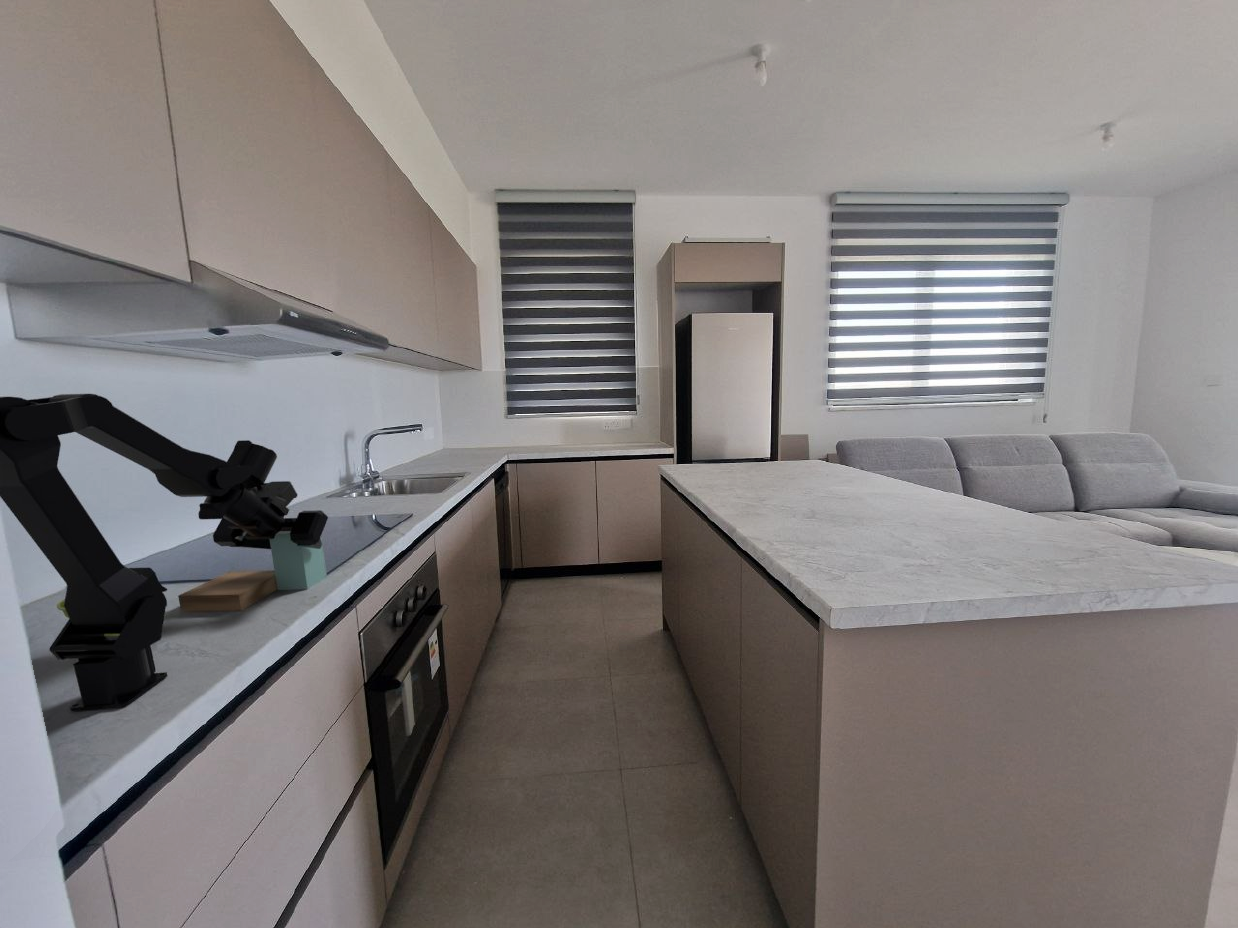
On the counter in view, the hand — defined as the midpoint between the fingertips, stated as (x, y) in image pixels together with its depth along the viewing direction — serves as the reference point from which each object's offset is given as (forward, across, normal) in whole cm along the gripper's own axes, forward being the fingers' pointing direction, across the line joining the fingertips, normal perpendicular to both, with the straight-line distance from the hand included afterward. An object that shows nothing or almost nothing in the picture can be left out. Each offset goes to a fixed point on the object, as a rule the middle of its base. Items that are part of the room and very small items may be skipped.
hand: (298, 546), depth 94 cm
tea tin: (+5, 0, +6) cm, 8 cm away
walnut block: (+1, +8, +10) cm, 13 cm away
